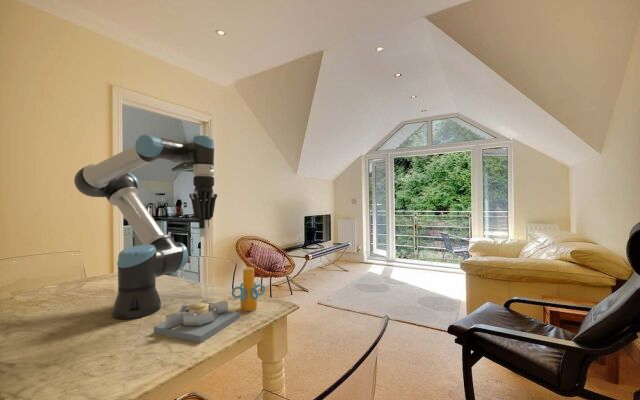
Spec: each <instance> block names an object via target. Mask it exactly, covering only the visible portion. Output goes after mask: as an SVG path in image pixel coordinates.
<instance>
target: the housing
mask: <svg viewBox="0 0 640 400" xmlns="http://www.w3.org/2000/svg"><path fill="white" fill-rule="evenodd" d="M191 305H192V304H191ZM189 311H196V314H199V313H202V312H206V311H209V305H208V304H206V303H201V302H197V303H193V305H192V306H190V307H189ZM239 319H240V312H237V311H230V310H228V311H226V312H223V313H219V314H218V316H217V317H216V318H215V319H214V321H212V322H209V323H205V324H202V325H199V326H185V325H182V324H181V325H178V326H174V327H171V328H167V327H166V320H165V321H163V322H160V323H159V324H157V325H154V326H153V334H155V335H161V336H165V337H170V338H174V339H180V340H183V341H189V342H195V343H196V344H197V343H198V344H202V343H204V342H206V341H207V340H208V339H210V338H212V337H213V336H214V335H216V334H217V333H219V332H220V331H222V330H224V329H225V328H226V327H228V326H230V325H231V324H232V323H234V322H235V321H237V320H239Z"/></svg>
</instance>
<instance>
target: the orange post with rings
mask: <svg viewBox="0 0 640 400" xmlns="http://www.w3.org/2000/svg"><path fill="white" fill-rule="evenodd" d="M242 274H243V275H242V282H241V283H240V286H235V287H234V288H233V289H232V290H231V296H232V297H233V298H235V299H239V298H240V310H241V311H244V312H250V311H254V310H256V309H257V308H258V298H259V296H262V295H264V293H265V292H266V288H265V287H266V286H265V285H264V284H261V283H258V284H257V283H256V281H255V267H252V266H247V267H243V269H242ZM258 287H262V291H261V292H260V293H259V290H258V289H257V288H258ZM237 289H239V290H240V294H239V295H235V290H237Z"/></svg>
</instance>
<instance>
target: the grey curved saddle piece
mask: <svg viewBox="0 0 640 400" xmlns="http://www.w3.org/2000/svg"><path fill="white" fill-rule="evenodd" d="M200 303H206V304H208V305H209V311H206V312H202V313H199V314H196V311H189V307H190V306H192V305H193V304H194V303H193V304H183V305H182V306H180V310H178V312H175V313H170V314H166V315H165V321H166V327H167V328H171V327H174V326H178V325H181V324H182V325H185V326H199V325H202V324H205V323H209V322H212V321H214V319H215V318H216V317H217V316H218V314H219V313H223V312H226V311H229V302H228V301H227V300H225V299H224V300H221V301H218V302H209V299H202V300H201V302H200Z"/></svg>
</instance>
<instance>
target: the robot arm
mask: <svg viewBox="0 0 640 400" xmlns="http://www.w3.org/2000/svg"><path fill="white" fill-rule="evenodd" d="M192 139H193V140H192V142H191V141H190V142H182V141H181V142H180V141H176V140H171V139H169V138H164V137H160V136H156V135H152V134H151V135H150V134H145V133H144V134H142V135H139V136H138V138H137V139H136V141H135V143H134V144H135V145H133V146H131V147H128V148H126V149H125V150H122V151H121V152H119V153H117V154H114V155H112V156H111V157H108V158H106V159H105V160H103V161H100V162H98V163H96V164H88V165H85V166H84V167H82V168H80V169H78V171H77V172H76V174H75V175H74V180H73V181H74V183H73V184H74V185H75V187H76V189H77V191H79V192H80V193H81V194H83V195H85V196H87V197H90V198H91V197H92V198H106V200H107V201H108V202H109V203H110V205H111V206H114V207H115V206H116V207H117V208H118V210H119V211H120V213H121V214H122V216H123V217H124V219H125V220H126V221H127V222H128V225H129V226H130V227H131V229H132V230H133V232H134V234H135V235H136V237H138V239H139V240H140V242H141V243H142V244H140V245H134V246H129V247H127V248H125V249H122V250H121V251H120V252H119V254H118V256H117V263H116V265H117V294H116V295H117V296H116V298H115V301H114V304H113V307H112V309H111V311H112V312H111V317H112V318H114V319H116V320H117V319H118V320H131V319H138V318H142V317H146V316H149V315H152V314H154V313H156V312H158V311H159V310H161V308H162V301H161V299H160V295H159V293H158V290H157V287H156V286H157V285H156V284H157V283H156V281H157V280H156V278H158V277H161V276H164V275H167V274H168V275H169V274H171V273H176V272H177V271H180V270H182V269H183V268H184V267H186V265H187V262H188V261H189V260H188V258H189V251H188V249H187V247H186V245H185V244H184V243H182V242H179V241H177V242H176V241H175V240H174V238H173V237H172V236H171V235H168V234H165V233H164V231H163V230H162V228H161V227H160V226H159V224H158V223H157V222H156V220H155V219H154V217H153V215H151V213H150V212H149V210H148V209H147V208H146V206H145V204H143V202H142V201H141V199H140V198H139V196H138V195H139V191H140V186H139V184H140V183H139V180H138V178H137V176H135V175H134V174H133V173H132V172H133V171H134V170H135V171H136V170H137V169H138V168H141V167H143V166H145V165H147V164H150V163H152V162H154V161H156V160H168V161H170V162H172V163H179V164H180V163H181V164H182V163H189V162H190V163H191V162H193V166H192V167H193V169H192V170H193V171H192V174H193V175H194V176H193V186H194V191H193V192H192V193H189V195H188V196H189V198H190V200H191V201H190V202H191V204H192V210H193V211H192V212H193V216H194V219H196V220H197V221H198V228H199V238H200V237H203V238H206V237H209V227H210V220H212V218H213V217H214V214H215V213H214V211H215V207H216V206H215V205H216V200H217V197H218V194H217V193H214V189H213V187H214V186H215V177H214V175H215V143H214V139H213V137H212V136H208V135H204V134H202V135H201V134H199V135H194V136H193V138H192Z"/></svg>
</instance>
